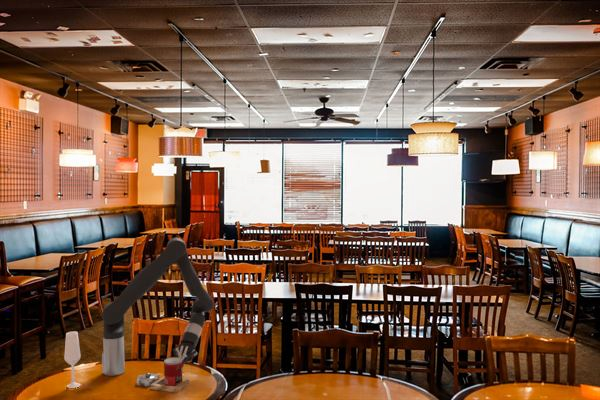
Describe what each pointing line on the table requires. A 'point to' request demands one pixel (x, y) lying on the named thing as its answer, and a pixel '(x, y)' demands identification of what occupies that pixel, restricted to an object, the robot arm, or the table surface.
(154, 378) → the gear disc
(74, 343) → the champagne flute
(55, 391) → the table surface
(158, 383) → the cradle
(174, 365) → the canned food
